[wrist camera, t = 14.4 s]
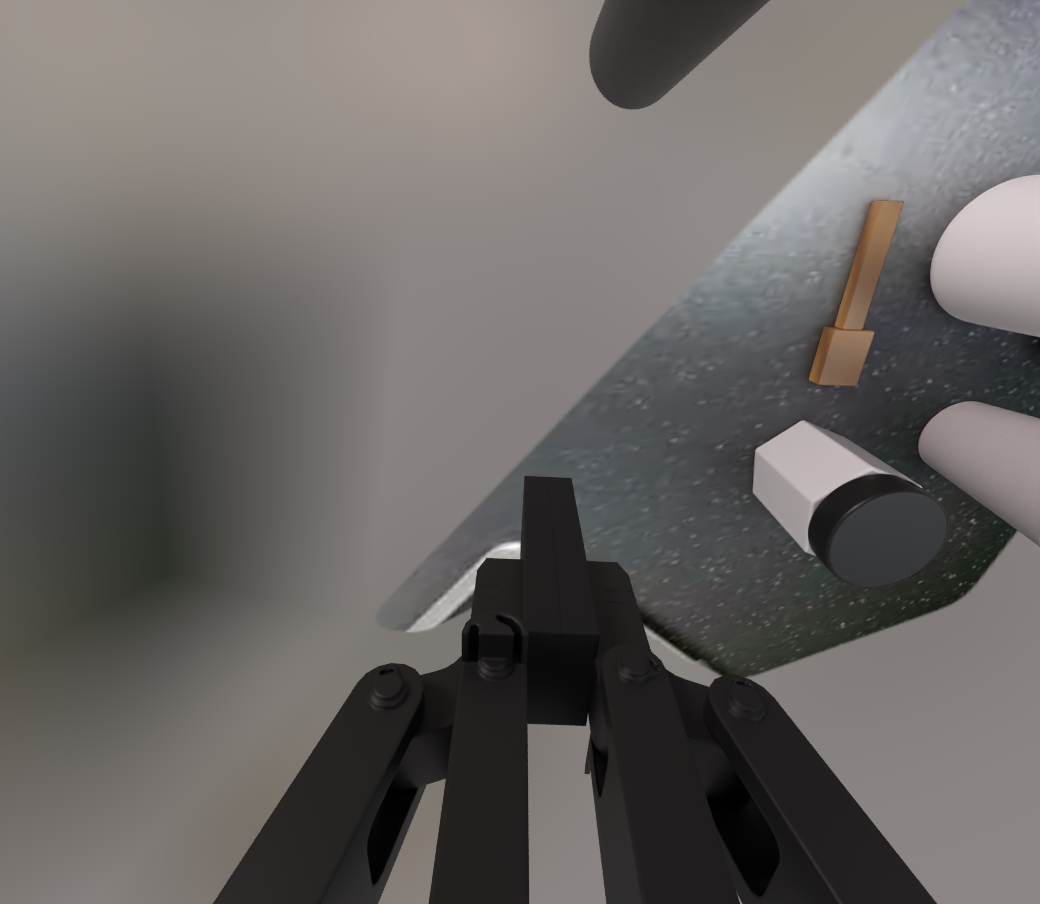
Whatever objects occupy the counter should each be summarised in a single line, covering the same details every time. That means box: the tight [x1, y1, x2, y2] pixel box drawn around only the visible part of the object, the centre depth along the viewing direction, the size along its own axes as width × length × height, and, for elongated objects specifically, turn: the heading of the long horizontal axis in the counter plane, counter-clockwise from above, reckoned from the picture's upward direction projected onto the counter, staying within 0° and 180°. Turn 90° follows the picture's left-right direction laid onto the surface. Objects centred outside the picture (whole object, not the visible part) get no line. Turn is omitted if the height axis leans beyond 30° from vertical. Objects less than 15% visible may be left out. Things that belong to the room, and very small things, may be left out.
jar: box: [753, 420, 948, 588], centre depth 39 cm, size 9×8×12 cm
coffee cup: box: [918, 401, 1040, 546], centre depth 36 cm, size 10×10×15 cm
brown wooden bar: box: [809, 200, 904, 386], centre depth 38 cm, size 13×3×2 cm, turn 178°
